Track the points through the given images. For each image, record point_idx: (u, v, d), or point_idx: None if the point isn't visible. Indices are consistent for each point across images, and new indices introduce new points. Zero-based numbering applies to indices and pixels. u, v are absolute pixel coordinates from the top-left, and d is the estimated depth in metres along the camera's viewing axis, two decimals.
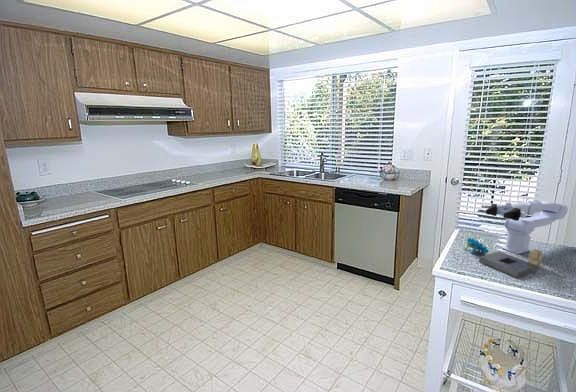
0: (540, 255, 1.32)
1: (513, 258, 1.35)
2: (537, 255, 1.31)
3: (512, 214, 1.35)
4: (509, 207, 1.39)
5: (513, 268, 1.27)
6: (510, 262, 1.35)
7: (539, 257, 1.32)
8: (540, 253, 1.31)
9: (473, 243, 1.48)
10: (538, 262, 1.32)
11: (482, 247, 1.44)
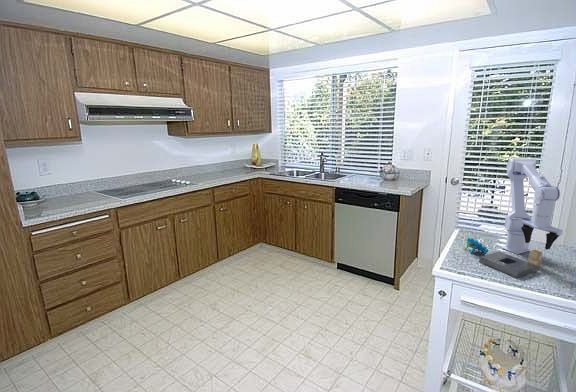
0: (540, 255, 1.32)
1: (513, 258, 1.35)
2: (537, 255, 1.31)
3: None
4: None
5: (513, 268, 1.27)
6: (510, 262, 1.35)
7: (539, 257, 1.32)
8: (540, 253, 1.31)
9: (473, 243, 1.48)
10: (538, 262, 1.32)
11: (482, 247, 1.44)
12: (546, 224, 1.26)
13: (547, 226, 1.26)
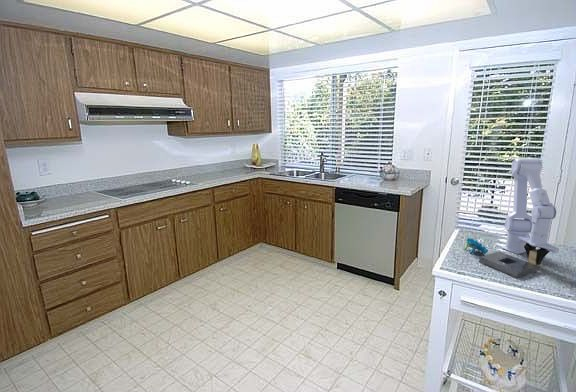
0: None
1: (513, 258, 1.35)
2: None
3: None
4: None
5: (513, 268, 1.27)
6: (510, 262, 1.35)
7: None
8: None
9: (472, 243, 1.48)
10: None
11: (481, 247, 1.44)
12: (543, 242, 1.28)
13: (544, 244, 1.28)
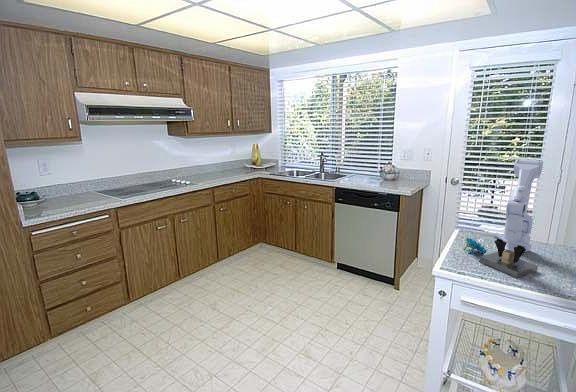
0: (513, 255, 1.32)
1: None
2: (510, 255, 1.31)
3: None
4: None
5: (513, 268, 1.27)
6: None
7: (512, 257, 1.32)
8: (513, 253, 1.31)
9: (472, 243, 1.48)
10: (511, 262, 1.32)
11: (480, 247, 1.44)
12: (516, 238, 1.28)
13: (517, 240, 1.28)
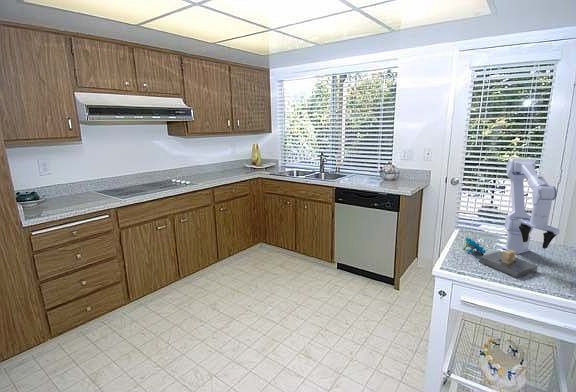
0: (513, 255, 1.32)
1: None
2: (510, 255, 1.31)
3: None
4: None
5: (513, 268, 1.27)
6: None
7: (512, 257, 1.32)
8: (513, 253, 1.31)
9: (471, 243, 1.48)
10: (511, 262, 1.32)
11: (479, 247, 1.44)
12: (544, 223, 1.27)
13: (544, 225, 1.27)
